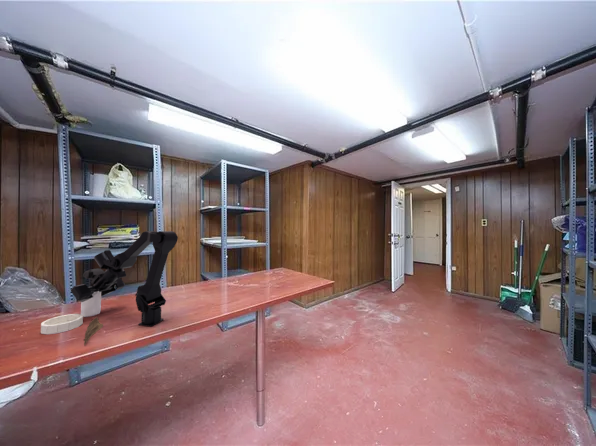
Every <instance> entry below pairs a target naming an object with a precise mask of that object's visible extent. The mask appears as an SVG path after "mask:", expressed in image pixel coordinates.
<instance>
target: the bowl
mask: <svg viewBox="0 0 596 446" xmlns="http://www.w3.org/2000/svg"><path fill="white" fill-rule="evenodd" d="M83 320H84V317H83V315H82V314H81V313H72V314H71V313H69V314H65V315H64V314H63V315H59V316H54V317H51V318H48V319H46V320H44V321H42V322H41V323H40V334H42V335H54V334H59V333H60V334H61V333H64V332H67V331H72V330H73V329H76V328H79V327H81V326H82V325H83V323H84V321H83Z"/></svg>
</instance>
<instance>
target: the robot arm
mask: <svg viewBox="0 0 596 446" xmlns="http://www.w3.org/2000/svg"><path fill="white" fill-rule="evenodd" d="M178 240H179V236H178V235H177V233H176V232H175V231H173V230H169V231H165V230H162V231H154V230H149V231H147V230H146V231H143V232H141V234H140V236H139V237H138V238H136V240H135V241H134V242H133V243H131V245H130V246H128V248H127V249H126V250H124V251H123V252H120V253H118V254H116V255H114V254H113V253H112V252H111V250H110V249H106V250H104V251H102V252H100V253H98V254H96V255H95V256H94V257H93V259H94V260H95V262H96V263H97V265H98V267H99V268H92V269H89V270H85V271H84V273H83V275H82V276H83V278H85V280H87V279H88V280H89V279H90V280H91V281H90V283H91V284H92V285H91V286H88V285H87V284H86V283H84V284H83V283H81V284H78V285H74V286H73V287H72V288H71V289H70V292H71V293H72V294H73V296H74V298H75V299H76V301H80V303H81V302H84V301H87V300H89V299H90V298H92V297H93V296H92V294H93V293H94V292H97V291H99V292H101V297H104V296H105V295H106V296H107V295H109V294H111V293H113V292H116V291H118V290H122V289H123V288H124V287H125V282H124V281H123V279H122V278H126V277H127V273H126V270H124V269H127V268H128V269H129V268H133V266H134V265H135V263H136V262H137V259H138V256H139V255H140V254H141V253H143V251H144V250H146V248H147V247H149V245H151V244H152V246H153V249H154V254H153V257H152V260H151V262H150V263H151V264H150V267H149V270H148V273H147V277H146V280H145V283H143V284H142V285H139V286H138V287H137V290H136V293H135V295H134V296H135V303H136V306H137V311H138V312H140V313H141V319H140V320H141V322H139V323H138V325H139V326H145V327H153V326H155V325H157V324H159V323H161V322H162V321H164V318H162V306H165V305H166V302H167V300H166V298H165V297H164V296H163V294H162V288H161V285H160V282H161V280H162V275H163V273H164V270H165V266H166V263H167V259H168V255H169V254H170V252H171V251H172V250H173V249H174V248H175V247H176V244H177V242H178ZM104 270H105V271H104ZM88 287H90V288H88Z"/></svg>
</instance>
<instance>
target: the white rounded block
mask: <svg viewBox="0 0 596 446" xmlns="http://www.w3.org/2000/svg"><path fill="white" fill-rule="evenodd" d="M87 287H88V288H90V287H91V286H87ZM92 296H93V297H92V298H90V299H89V300H87V301H84V302H81V301H80V314H82V315H83V318H89V317H94V316H98V315H99V314H100V313H101V312H102V311H101V309H102V296H101V292H99V291H97V292H94V293H93V294H92Z"/></svg>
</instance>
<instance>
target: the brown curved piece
mask: <svg viewBox="0 0 596 446" xmlns="http://www.w3.org/2000/svg"><path fill="white" fill-rule="evenodd" d="M103 327H104V324H103V323H102V322H100V321H99V318H98V315H96V317H94V318H93V319H92V320H91V321H90V322H89V324H88V325H87V328H86V331H85V332H84V333H85V334H84V338H83V339H82V341H83V342H84V343H83V344H84V347H85V346H86V344H87V342H89V340H90V338H91V337H92V336H93V335H94V334H96V332H98V331H99V330H101V329H102V328H103Z"/></svg>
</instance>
